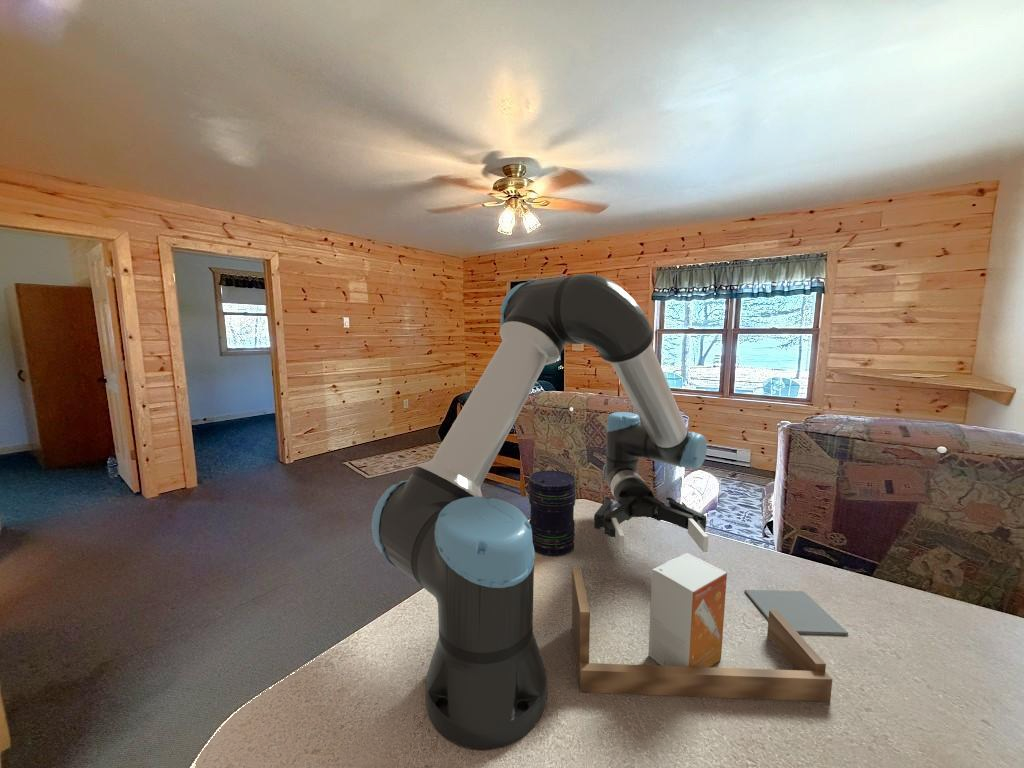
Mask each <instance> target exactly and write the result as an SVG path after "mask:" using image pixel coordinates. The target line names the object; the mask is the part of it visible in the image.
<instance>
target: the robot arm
mask: <svg viewBox="0 0 1024 768" xmlns="http://www.w3.org/2000/svg"><path fill="white" fill-rule="evenodd" d="M499 313H500V314H501V316H500V317H499V322H500V323H499V324H500V328H499V336H500V339H501V343H500V344H499V345H498V347H497V350H496V351H495V353H494V355H493V356H492V357H491V359H490V361H489V363H488V364H487V366H486V368H485V369H484V370H483V373H482V375H481V376H480V378H479V380H478V381H477V383H476V384H475V385H474V386H475V387H474V389H472V391H471V393H470V395H469V397H468V398H467V400H466V402H465V403H464V405H463V406H462V409H461V410H460V412H459V414H458V415H457V416H456V419H455V420H454V421H453V424H452V425H451V427H450V429H449V430H448V432H447V434H446V435H445V436H444V439H443V440H442V441H441V444H440V445H439V446H438V449H437V450H436V452H435V453H434V455H433V457H432V459H430V460H429V461H426V462H425V461H424V462H422V463H417V465H416V467H415V468H414V469H413V471H412V473H411V474H410V475H409V478H408V479H407V480H402V481H399V482H398V483H396V484H393V485H391V486H389V487H388V488H387V489H386V490H385V491H384V492H383V494H382V495H380V498H378V501H377V503H376V505H375V508H374V510H373V512H372V517H371V524H370V525H371V526H370V527H371V533H372V534H371V535H372V539H373V542H374V544H375V547H376V549H377V550H378V551H379V552H380V553H381V554H382V555H383V557H384V558H385V559H386V560H387V562H388V563H389V564H390V565H392V566H393V567H395V568H397V569H399V570H401V571H402V572H403V573H404V574H405V575H407V576H408V577H410V579H412V580H413V581H414V582H415V583H417V584H418V585H419V586H421V587H422V588H423V589H424V590H425V591H427V592H428V593H429V594H431V595H432V596H433V597H434V598H435V599H436V600H435V601H436V603H437V617H438V619H437V620H438V639H437V641H436V645H435V647H434V651H433V654H432V658H431V661H430V663H429V666H428V670H427V674H426V679H425V705H426V706H425V707H426V711H427V715H428V717H429V719H430V721H431V723H432V725H433V726H434V728H435V729H436V730H437V731H438V732H439V734H441V735H442V736H443V737H444V738H445V739H447V740H449V741H450V742H452V743H454V744H456V745H458V746H460V747H461V746H462V747H464V748H469V749H473V750H490V749H491V750H492V749H496V748H501V747H505V746H507V745H510V744H511V743H514V742H516V741H518V740H520V739H521V738H523V737H524V736H525V735H526V734H528V733H529V732H530V731H531V730H533V728H534V726H536V724H537V723H538V721H539V720H540V718H541V716H542V715H543V712H544V711H545V707H546V702H547V693H548V692H547V690H548V687H547V686H548V685H547V683H548V682H547V680H548V677H547V671H546V666H545V663H544V660H543V657H542V654H541V652H540V648H539V645H538V643H537V640H536V637H535V634H534V631H533V630H534V625H533V624H534V588H535V587H534V584H535V583H534V579H535V578H534V576H535V574H534V573H535V570H534V569H535V557H536V556H535V553H536V552H535V551H534V546H533V540H532V529H531V525H530V523H529V519H528V518H527V515H525V514H524V513H523V511H521V510H520V509H519V508H518V507H517V506H515V505H513V504H511V503H510V502H507V501H505V500H502V499H499V498H496V497H491V498H485V496H483V493H482V491H481V489H482V488H481V487H482V485H483V483H484V481H485V479H486V477H487V475H488V473H489V471H490V469H491V468H492V465H493V463H494V462H495V460H496V458H497V456H498V454H499V452H501V450H502V449H501V448H502V447H503V445H504V443H505V442H506V439H507V437H508V436H509V433H510V432H511V430H512V428H513V426H514V425H515V423H516V420H517V419H518V418H519V414H520V413H521V411H522V409H523V408H524V405H525V404H526V402H527V399H528V398H529V396H530V394H531V392H532V390H533V388H534V386H535V385H536V382H537V380H538V379H539V377H540V375H541V373H542V372H543V369H544V368H545V366H548V365H551V364H554V363H556V362H557V361H558V360H559V358H560V356H561V354H562V353H563V351H564V349H565V347H566V345H582V344H583V345H588V346H590V347H592V348H594V349H595V350H596V351H597V352H598V355H599V356H600V358H601V359H602V361H605V362H607V363H609V364H611V366H612V368H613V371H614V372H615V373H616V376H617V378H618V380H619V381H620V383H621V385H622V388H623V389H624V391H625V393H626V395H627V397H628V398H629V400H630V403H631V404H632V407H633V408H634V410H635V412H636V413H634V412H630V411H629V412H628V411H627V412H626V411H616V412H612V413H610V414H609V415H608V416H607V420H606V422H607V423H606V430H605V434H606V442H605V443H606V445H605V446H606V449H605V450H606V457H605V463H604V465H603V467H602V475H603V480H604V481H605V482H604V483H606V486H608V489H609V490H610V492H611V494H612V496H613V497H614V498H613V499H612V498H611V497H610V496H605V497H604V501H603V503H602V504H601V506H600V507H599V508H598V510H596V512H595V513H594V515H593V518H594V519H593V522H594V523H593V528H594V529H596V530H600V529H601V528H603V529H604V534H605V535H607V536H608V537H609V538H613V539H614V541H615V544H616V546H617V549H618V550H619V552H624V551H625V534H624V532H623V530H622V527H621V525H620V524H622V523H623V522H625V521H630V520H631V519H633V518H651V519H653V520H656V521H657V522H660V521H664V522H667V523H670V524H673V525H675V526H678V527H680V528H683V529H686V530H687V533H688V535H689V536H690V538H691V539H692V540H693V541H694V542H695V544H696V545H697V547H698V548H699V550H701V551H702V552H703V553H708V552H709V551H708V550H709V535H708V534H707V533H706V530H707V515H705V514H703V513H702V512H698V511H697V510H694V509H692V508H690V507H688V506H686V505H684V504H682V503H679V502H678V501H676V500H675V499H674V498H673V497H670V496H667V497H666V500H665V501H664V500H662V501H660V500H659V499H658V498H656V497H655V495H654V492H653V491H652V490H651V488H650V487H649V486H648V484H647V482H646V481H645V480H644V479H643V478H642V477H641V475H640V474H639V460H640V459H639V458H642V459H646V460H650V461H655V462H660V463H662V464H668V465H672V466H675V467H679V468H686V469H687V468H688V469H693V470H694V469H695V470H696V469H699V468H700V467H702V465H703V464H704V461H705V459H706V457H707V452H708V446H707V445H708V444H707V440H706V437H705V436H704V435H703V434H701V433H697V432H695V431H689V430H688V428H687V425H686V423H685V421H684V418H683V415H682V414H681V413H682V412H681V410H680V408H679V406H678V404H677V402H676V400H675V396H674V395H673V392H672V390H671V388H670V385H669V383H668V380H667V378H666V375H665V373H664V371H663V368H662V366H661V363H660V362H659V361H660V360H659V358H658V357H657V355H656V352H655V350H654V347H653V345H652V344H653V341H654V339H655V333H654V331H653V328H652V326H651V323H650V321H649V319H648V317H647V315H646V314H645V312H644V310H643V309H642V308H641V306H640V305H639V304H638V303H637V302H636V300H635V299H634V298H633V296H631V295H630V294H629V293H628V292H627V291H626V290H625V289H624V288H622V287H621V286H620V285H618V284H617V283H615V282H614V281H613V280H611V279H610V278H609V279H608V278H607V277H604V276H601V275H598V274H594V273H578V274H575V275H567V276H559V277H551V278H544V279H543V278H542V279H537V278H536V279H531V280H528V281H526V282H522V283H519V284H517V285H515V286H514V287H513V288H511V289H510V290H509V291H508V292H507V293H506V295H505V296H504V298H503V300H502V303H501V306H500V311H499ZM614 499H615V500H614Z"/></svg>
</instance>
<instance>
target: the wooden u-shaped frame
mask: <svg viewBox="0 0 1024 768" xmlns="http://www.w3.org/2000/svg"><path fill="white" fill-rule="evenodd" d="M571 574H572V576H571V577H572V582H571V583H572V584H571V585H572V586H571V634H572V642H573V649H574V656H575V663H576V670H577V677H578V684H579V685H578V687H579V692H580V693H593V694H594V693H595V694H596V693H597V694H615V695H616V694H619V695H620V694H622V695H624V694H625V695H643V696H644V695H646V696H647V695H648V696H671V697H698V698H700V697H701V698H721V699H722V698H726V699H727V698H729V699H746V700H747V699H751V700H754V699H755V700H771V701H772V700H776V701H777V700H778V701H779V700H780V701H799V702H800V701H801V702H806V701H807V702H828V703H829V702H830V703H831V697H832V690H833V689H832V687H833V678H832V677H831V676H830V675H829V674H828V673H827V672H826V669H827V668H826V667H827V664H826V663H825V661H824V659H822V658H821V656H819V654H817V653H816V651H815V650H814V649H813V648H812V647H811V645H809V643H807V641H806V640H805V639H804V637H802V636H801V635H800V634H798V632H797V631H796V630H795V629H794V628H793V627H792V626H791V625H790V624H789V623H788V621H787V620H786V619H785V618H784V617H783V616H782V615H781V614H780V613H779V611H778V610H769V620H768V619H767V620H768V623H767V637H768V638H769V640H771V642H772V643H773V644H774V645H775V646H776V647H777V649H778V650H779V651H780V653H781V654H782V655H783V656H784V658H785V659H786V660H787V661H788V662H789V664H790V665H791V667H792V668H793V669H768V668H767V669H766V668H765V669H763V668H739V667H737V668H736V667H714V666H711V667H687V666H661V665H659V664H658V665H657V664H656V665H649V664H629V663H628V664H623V663H602V662H601V663H599V662H593V663H592V662H590V638H591V637H590V635H591V633H590V631H591V630H590V628H591V611H590V606H589V601H588V596H587V591H586V587H585V586H586V585H585V583H584V578H583V577H584V576H583V573H582V568H581V567H572V573H571Z"/></svg>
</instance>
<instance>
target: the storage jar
mask: <svg viewBox="0 0 1024 768" xmlns="http://www.w3.org/2000/svg"><path fill="white" fill-rule="evenodd" d="M528 490H529V491H528V495H529V497H528V501H529V504H530V518H529V519H528V521H529V523H530V525H531V529H532V540H533V546H534V551H535V552H534V553H536V554H538V555H541V556H545V557H553V558H554V557H563V556H566V555H568V554H570V553H572V552H573V551H574V550H575V542H574V541H575V536H576V528H575V526H576V524H575V523H576V521H575V520H574V518H575V517H574V515H575V514H574V511H575V507H574V506H576V505H575V504H576V478H575V476H574V475H573V474H571V473H569V472H565V471H562V470H561V471H560V470H551V469H550V470H540V471H536V472H533V473H531V474H530V475H529V487H528Z"/></svg>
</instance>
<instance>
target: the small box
mask: <svg viewBox="0 0 1024 768" xmlns="http://www.w3.org/2000/svg"><path fill="white" fill-rule="evenodd" d="M727 578H728V572H727V571H725V570H723V569H721V568H719V567H717V566H714V565H712V564H710V563H708V562H706V561H704V559H703V560H702V559H700V558H699V557H697V556H694V555H693V554H690V553H689V552H685V553H684V554H681V555H679V556H677V557H675V558H674V557H673V559H669V560H667V561H666V562H664V563H662V564H660V565H658V566H657V567H654V568H652V570H651V582H650V583H651V585H650V586H651V588H650V611H649V614H650V615H649V633H648V657H650V658H651V659H652V660H654V661H655V663H657V664H658V665H659V666H687V667H714V665H715V664H717V663H718V662H719V661H721V660H722V653H723V652H722V650H723V637H724V636H723V635H724V621H725V620H724V619H725V610H726V609H725V608H726V607H725V605H726V595H727V593H726V592H727V580H728V579H727Z"/></svg>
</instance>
